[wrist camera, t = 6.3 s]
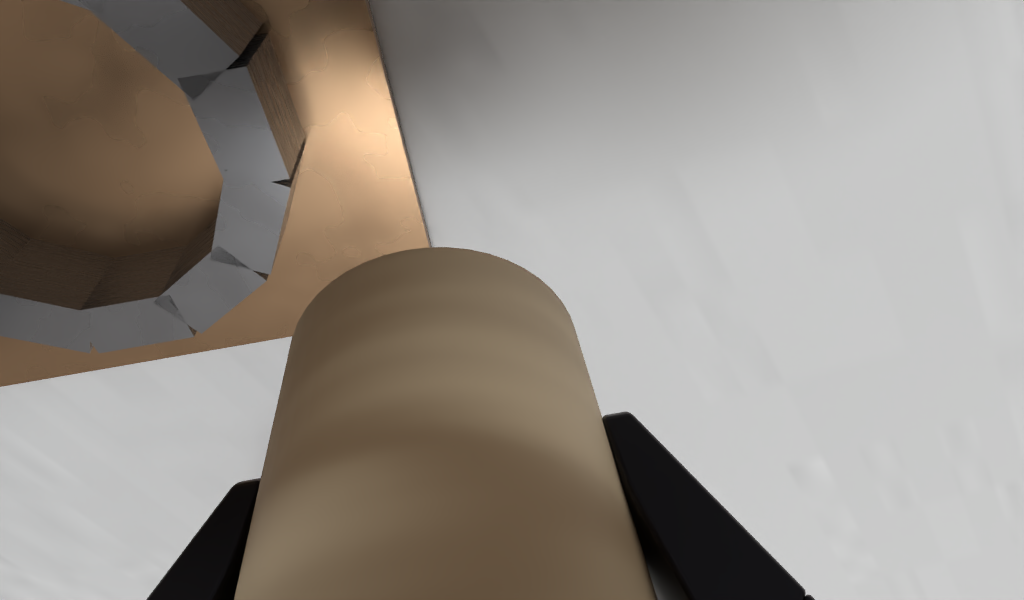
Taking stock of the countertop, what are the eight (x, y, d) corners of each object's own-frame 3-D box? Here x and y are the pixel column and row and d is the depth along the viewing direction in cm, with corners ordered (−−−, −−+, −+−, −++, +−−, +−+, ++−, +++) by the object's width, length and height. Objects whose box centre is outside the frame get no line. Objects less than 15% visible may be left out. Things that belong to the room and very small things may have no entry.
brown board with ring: (-22, 381, 22) (-75, 451, 20) (-559, -213, 12) (-791, -215, 10) (444, 300, 22) (447, 360, 20) (275, -361, 12) (240, -398, 10)
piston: (339, 480, 13) (265, 1166, 6) (243, 279, 10) (-79, 1193, 3) (585, 434, 13) (759, 1068, 6) (565, 221, 10) (849, 1008, 3)
